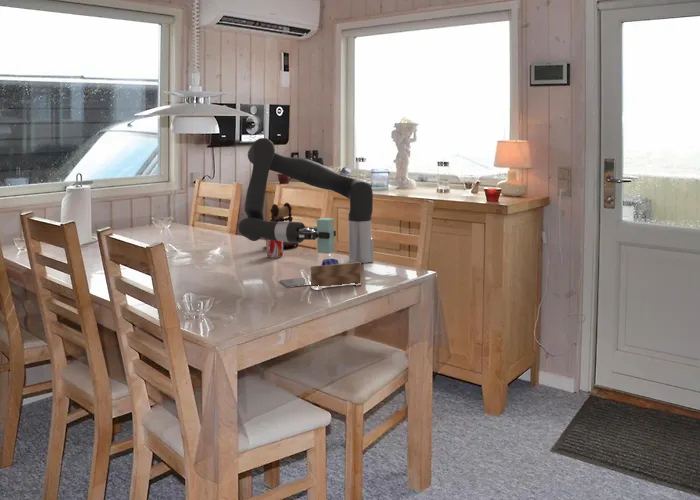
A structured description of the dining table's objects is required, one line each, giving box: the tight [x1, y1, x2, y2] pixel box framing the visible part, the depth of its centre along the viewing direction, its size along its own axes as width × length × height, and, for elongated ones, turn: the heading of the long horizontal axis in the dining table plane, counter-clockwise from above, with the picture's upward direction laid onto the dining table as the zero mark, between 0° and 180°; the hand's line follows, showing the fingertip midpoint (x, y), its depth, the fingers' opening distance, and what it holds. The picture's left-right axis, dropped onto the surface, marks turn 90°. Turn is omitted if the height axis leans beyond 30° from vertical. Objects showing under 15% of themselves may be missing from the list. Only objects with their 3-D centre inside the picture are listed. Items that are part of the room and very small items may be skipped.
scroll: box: [269, 202, 299, 248], centre depth 329 cm, size 15×15×20 cm
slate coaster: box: [279, 277, 306, 288], centre depth 262 cm, size 10×10×1 cm
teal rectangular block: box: [316, 217, 335, 254], centre depth 259 cm, size 5×4×12 cm
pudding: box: [321, 258, 340, 266], centre depth 277 cm, size 12×12×5 cm
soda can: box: [265, 239, 284, 259], centre depth 307 cm, size 7×7×12 cm
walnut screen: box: [310, 262, 362, 286], centre depth 255 cm, size 18×5×8 cm, turn 112°
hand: (332, 234), depth 258 cm, fingers closed on teal rectangular block, 4 cm apart
